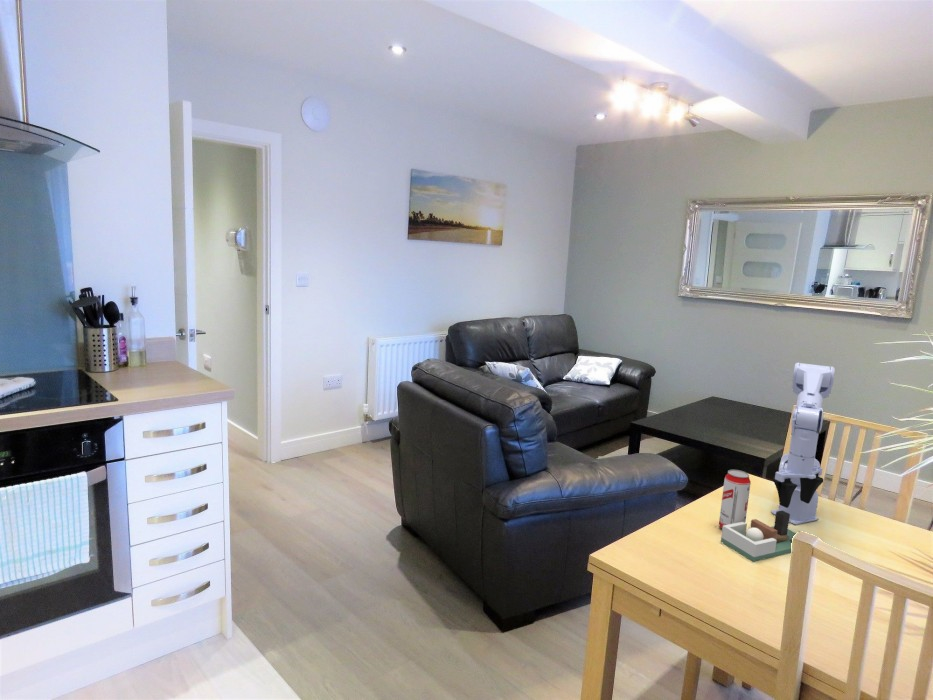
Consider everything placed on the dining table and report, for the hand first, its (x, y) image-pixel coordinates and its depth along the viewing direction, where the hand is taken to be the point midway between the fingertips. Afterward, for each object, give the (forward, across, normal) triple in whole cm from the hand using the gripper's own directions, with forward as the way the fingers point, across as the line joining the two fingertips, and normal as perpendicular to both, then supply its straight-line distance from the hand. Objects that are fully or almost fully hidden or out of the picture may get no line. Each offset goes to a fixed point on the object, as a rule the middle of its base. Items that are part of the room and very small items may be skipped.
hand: (794, 503), depth 147 cm
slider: (+8, -7, 0) cm, 11 cm away
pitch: (+10, -8, 0) cm, 13 cm away
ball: (+7, -13, 0) cm, 15 cm away
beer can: (+10, -11, +9) cm, 17 cm away
